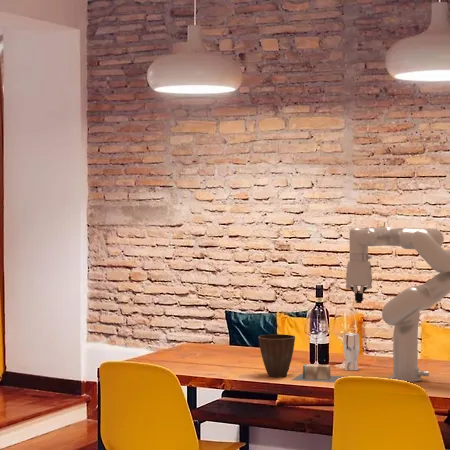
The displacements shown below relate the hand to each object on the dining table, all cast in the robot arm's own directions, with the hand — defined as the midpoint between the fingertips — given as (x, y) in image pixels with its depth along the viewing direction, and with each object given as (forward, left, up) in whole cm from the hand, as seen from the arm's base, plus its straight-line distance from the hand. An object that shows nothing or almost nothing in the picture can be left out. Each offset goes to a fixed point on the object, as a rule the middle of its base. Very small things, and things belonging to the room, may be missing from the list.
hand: (358, 302), depth 403 cm
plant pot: (+31, +14, -29) cm, 45 cm away
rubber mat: (+11, +18, -29) cm, 36 cm away
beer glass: (+5, -9, -29) cm, 31 cm away
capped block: (+8, +18, -26) cm, 33 cm away
